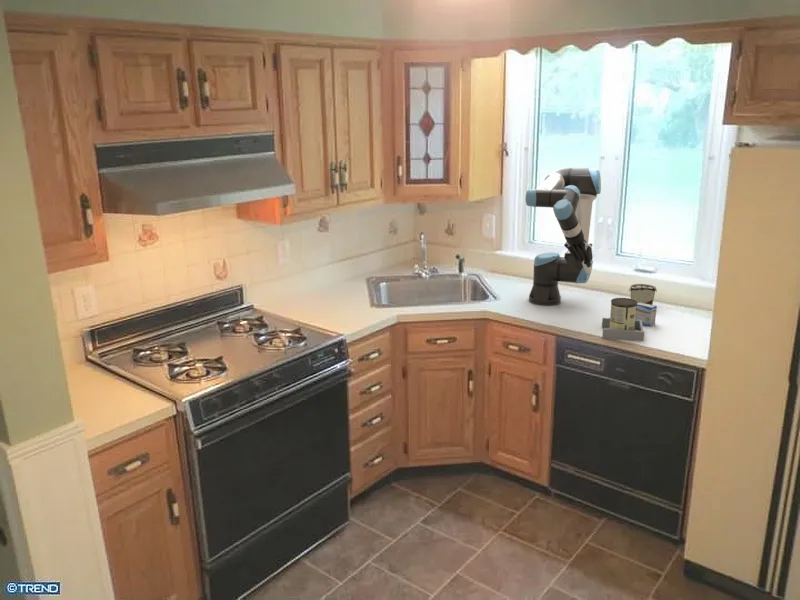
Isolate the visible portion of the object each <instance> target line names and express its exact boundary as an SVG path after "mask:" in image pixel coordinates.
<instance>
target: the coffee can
mask: <svg viewBox="0 0 800 600" xmlns="http://www.w3.org/2000/svg"><path fill="white" fill-rule="evenodd" d="M636 306H637V301H635V300H633V299H631V298H627V297H616V298H612V299H611V300H610V315H609V316H610V317H609V318H610V327H609V328H608V329H620V330H634V331H636V329H635V318H636Z"/></svg>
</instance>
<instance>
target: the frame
mask: <svg viewBox="0 0 800 600" xmlns="http://www.w3.org/2000/svg"><path fill="white" fill-rule="evenodd" d="M601 321H602V322H601V328H602V335H601V337H602V339H607V340H608V339H609V340H620V341H622V340H623V341H637V342H644V337H645V330H644V325H643V324H642V320H635V330H620V329H609V327H610V317H602V319H601Z"/></svg>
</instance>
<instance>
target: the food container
mask: <svg viewBox="0 0 800 600" xmlns="http://www.w3.org/2000/svg"><path fill="white" fill-rule="evenodd" d="M657 290H658V289H657V288H656V286H654V285H652V284H648V283H647V284H645V283H635V284H631V285H630V286H629V290H628V292H630V299H633V300H635V301H637V303H639V302H641V303H646V304H650V305H654V300H655V299H654V298H655V295H656V293H657Z"/></svg>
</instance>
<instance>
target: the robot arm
mask: <svg viewBox="0 0 800 600" xmlns="http://www.w3.org/2000/svg"><path fill="white" fill-rule="evenodd" d="M601 179H602V178H601V173H600V170H599V169H597V168H590V167H588V168H587V167H581V168H580V167H563V168H559V169H556V170H554V171H551V172H550V173H548V175H546V176H545V178H544V180H543V183H541V184H540V185H539V186H538V187H536V188H529V189H527V190H526V194H525V204H526V206H527V207H533V208H552V210H553V214H554V216H555V218H556V221H557V222H558V224H559V227H560V229H561V231H562V235H563V236H564V239H565V240H566V241H565V243H564V245H563V246H564V247H565V248H566V249H567V251H565V252H564V256H563V257H561V255H560V254H559V252H544V253H539V254H537V255H535V257H534V261H533V262H534V263H533V277H532V278H533V282H532V287H531V288H530V289H531V290H530V292H529V295H528V301H529V302H530V303H531V304H534V305H537V306H538V305H539V306H554V305H558V304H560V303H561V300H562V299H561V298H562V297H561V296H562V295H561V293H560V292H561V291H560V289H559V282H561V283H572V284H586V283H588V281H589V279H590V277H591V274H592V270H593V264H594V261H593V258H594V257H593V250H592V247H593V244H592V243H589V238H590V229H591V228H590V227H591V219H592V212H593V211H592V209H593V203H594V201H595V200H596V199H597V197H598V195H600V194H601V191H602V180H601Z"/></svg>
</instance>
